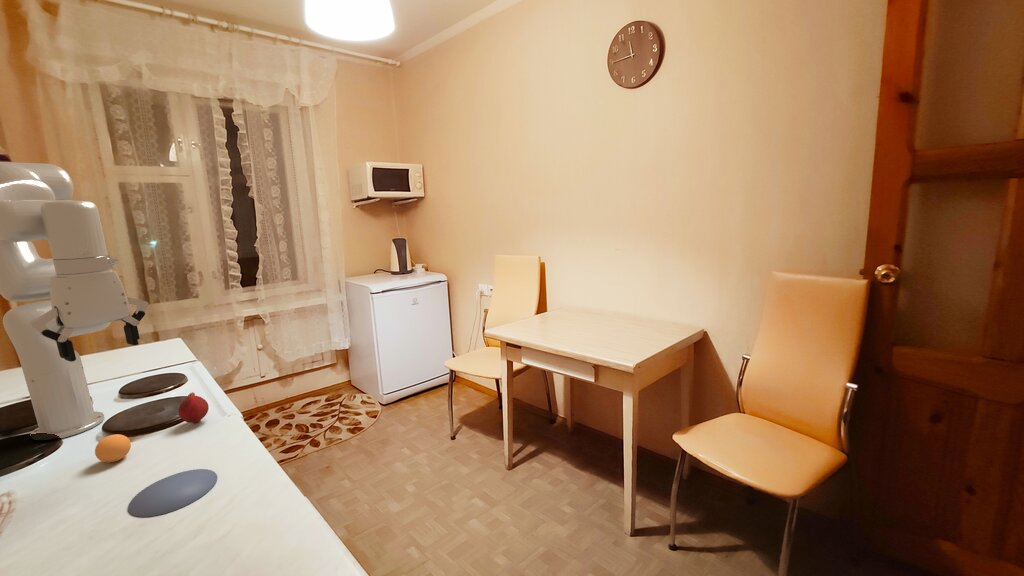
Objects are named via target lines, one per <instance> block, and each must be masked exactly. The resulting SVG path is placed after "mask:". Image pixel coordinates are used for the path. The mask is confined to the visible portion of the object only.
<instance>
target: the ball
mask: <svg viewBox="0 0 1024 576" xmlns="http://www.w3.org/2000/svg"><path fill="white" fill-rule="evenodd" d="M131 447H132V443H131V440H130V438H128V437H127V436H126V435H123V434H119V433H118V434H117V433H116V434H110V435H108V436H105V437H104V438H101V440H100V441H99V442H98V443H97V444H96V446H95V450H94V455H95V457H96V458H97V460H99V461H101V462H104V463H115V462H118V461H119V460H122V459H124V458H125V457H126V456H127V455H128V454H129V452H130V451H131Z"/></svg>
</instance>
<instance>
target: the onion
mask: <svg viewBox="0 0 1024 576" xmlns="http://www.w3.org/2000/svg"><path fill="white" fill-rule="evenodd" d="M195 394H196V393H195V392H194V391H192V392H190V393H189V394H188V395H187V397H185V399H183V401H181V403H180V405H179V406H178V412H177V413H178V416H179V418H180V419H182V421H184V422H186V423H190V424H195V425H197V424H200V422H201V420H203V419H204V418H205V417H206V415H207V414H208V412H209V409H210V407H209V404H208V401H207V400H206V399H205V398H204V397H201V396H198V395H195Z"/></svg>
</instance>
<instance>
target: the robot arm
mask: <svg viewBox="0 0 1024 576" xmlns="http://www.w3.org/2000/svg"><path fill="white" fill-rule="evenodd" d="M73 195H74V183H73V180H72V178H71V177H70V175H69V173H68V172H67V171H66V170H64V169H63V168H62V167H60V166H58V165H55V164H52V163H38V162H37V163H36V162H17V161H16V162H15V161H13V162H12V161H0V295H1V296H2V298H4V299H5V300H6V301H9V302H13V303H23V302H30V303H25V304H20V305H18V306H14V307H13V308H11V309H9V310H7V312H6V313H5V314H4V315H3V318H2V325H3V328H4V331H5V332H6V334H7V336H8V338H9V340H10V341H11V343H12V345H13V347H14V350H15V351H16V352H15V353H16V354H17V358H18V360H19V362H20V366H21V369H22V373H23V376H24V379H25V384H26V387H27V391H28V394H29V397H30V401H31V405H32V408H33V411H34V415H35V418H36V423H37V426H38V427H37V428H35V429H33V431H31V433H30V435H31V434H36V433H47V434H55V435H57V436H59V437H60V438H61V439H64V438H67V437H72V436H74V435H77V434H81V433H83V432H86V431H88V430H90V429H92V428H94V427H97V426H98V425H100V424H101V423H102V422H103V421H104V420H105V414H104V412H101V411H95V410H94V406H93V403H92V398H91V393H90V391H89V386H88V383H87V378H86V375H85V370H84V366H83V363H82V362H83V361H82V358H81V356H80V354H79V352H78V351H77V350H75V349H74V344H73V341H72V340H69V338H72V337H78V336H81V335H82V336H83V335H87V334H91V333H97V332H100V331H103V330H106V329H107V328H108V327H110V325H111V323H112V322H117V321H121V322H122V323H124V326H123V330H124V331H123V332H124V336H125V340H126V343H127V345H131V346H138V345H139V340H140V334H139V328H138V326H139V325H140V322H141V320H142V319H143V318H144V317H145V315H146V312H147V309H148V306H149V302H148V301H145V300H142V299H137V298H132V297H128V296H127V294H126V291H125V288H124V285H123V283H122V281H121V278H120V277H119V274H118V272H117V271H116V270H115V269H113V266H114V265H117V264H119V262H120V260H119V259H118V257H116V256H115V257H113V256H111V255H109V253H108V249H107V245H106V244H107V243H106V241H105V240H106V239H105V235H104V229H103V225H102V222H101V216H100V211H99V209H98V206H97V205H96V204H95V203H94V202H92V201H89V200H74V199H73V197H74V196H73ZM72 199H73V200H72ZM36 241H37V242H38V241H48V245H49V250H50V253H51V258H43V257H41V256H40V255H39V253H38V250H37V248H36V246H35V244H34V243H33V242H36ZM45 299H47V300H45ZM39 300H40V301H39ZM41 300H42V301H41ZM33 301H35V302H33ZM130 305H133V306H136V311H134V312H133V313H132V315H131V307H130Z"/></svg>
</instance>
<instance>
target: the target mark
mask: <svg viewBox="0 0 1024 576" xmlns="http://www.w3.org/2000/svg"><path fill="white" fill-rule="evenodd" d="M217 483H218V475H217V473H216V472H215V471H214V470H212V469H205V468H198V469H197V468H196V469H189V470H185V471H184V470H183V471H181V472H178V473H174V474H171V475H169V476H166V477H164V478H162V479H159V480H157V481H155V482H153V483H151V484H150V485H148V486H146V487H145V488H143V489H142V490H141V491H139V492H138V493H137V494H136V495H135V496H134V497H132V499H131V500H130V501H129V503H128V512H129V514H130V515H131V516H134V517H139V518H151V517H156V516H160V515H166V514H168V513H171V512H174V511H177V510H180V509H182V508H185V507H186V506H190V504H192V503H195V502H196V501H197V500H199V499H201V498H202V497H204V496H205V495H206V494H207V493H209V492H210V491H211V490H212V489H213V488H214V487H215V486H216V484H217Z"/></svg>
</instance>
